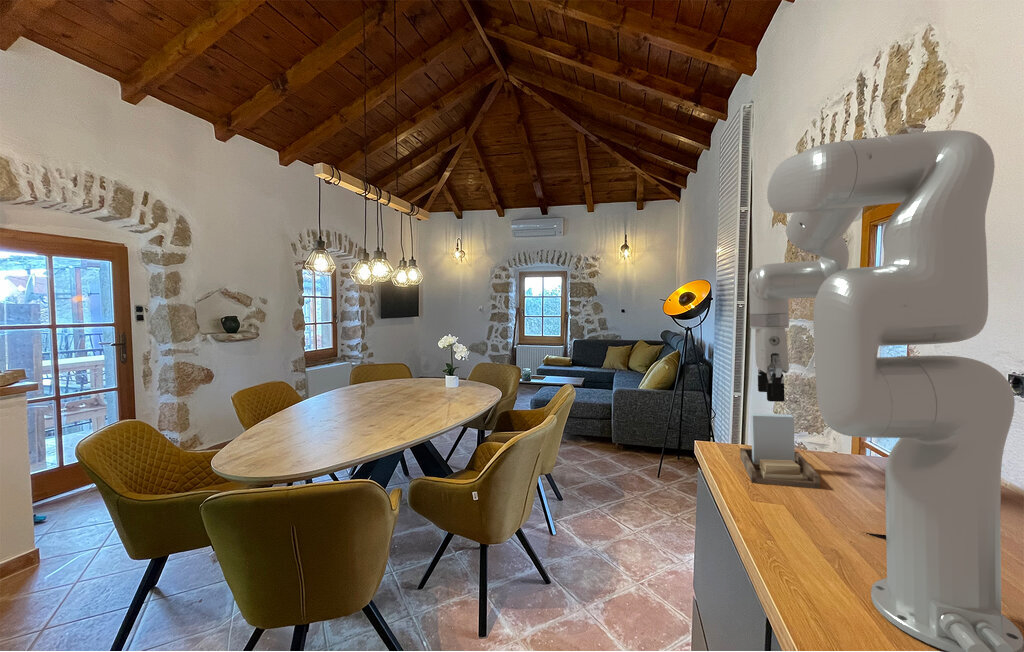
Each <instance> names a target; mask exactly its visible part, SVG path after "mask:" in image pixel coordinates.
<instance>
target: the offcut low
mask: <svg viewBox="0 0 1024 652" xmlns="http://www.w3.org/2000/svg"><path fill="white" fill-rule="evenodd" d="M761 476H762V477H764V478H776V479H788V480H800V481H803V475H802V474H801V473H800V475H788V474H766V473H765V472H764V471H763V470H762V469H761Z"/></svg>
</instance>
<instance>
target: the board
mask: <svg viewBox="0 0 1024 652" xmlns="http://www.w3.org/2000/svg"><path fill="white" fill-rule="evenodd" d="M750 427H751V428H750V430H751V433H750V434H751V449H752V463H760V459H763V460H793V461H794V462H795V452H796V451H795V447H796V445H795V417H794V416H793V415H792V414H789V413H788V414H785V413H761V412H760V413H757V412H751V413H750Z"/></svg>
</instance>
